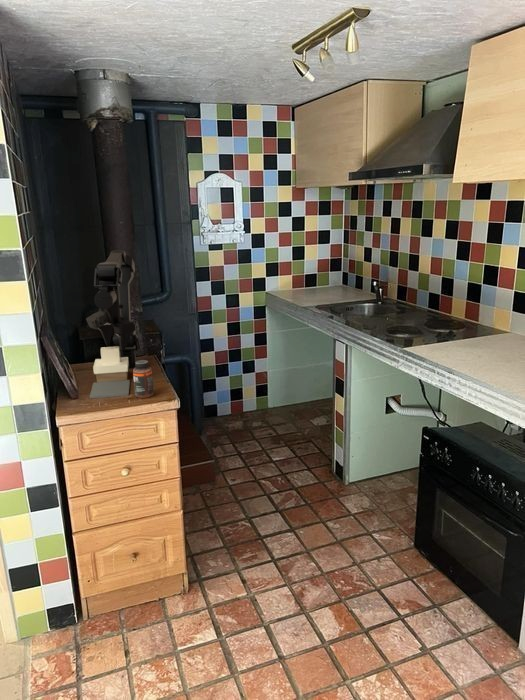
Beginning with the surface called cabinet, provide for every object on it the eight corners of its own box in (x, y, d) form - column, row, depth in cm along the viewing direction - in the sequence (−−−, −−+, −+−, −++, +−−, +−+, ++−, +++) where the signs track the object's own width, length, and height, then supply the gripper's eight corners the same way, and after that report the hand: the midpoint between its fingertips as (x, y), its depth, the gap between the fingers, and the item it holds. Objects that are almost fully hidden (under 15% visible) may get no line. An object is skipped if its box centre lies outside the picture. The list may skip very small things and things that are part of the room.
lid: (96, 365, 192) (94, 345, 190) (128, 363, 194) (127, 343, 192) (94, 373, 184) (91, 352, 181) (127, 371, 186) (126, 350, 184)
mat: (93, 384, 184) (93, 382, 184) (129, 381, 186) (129, 379, 186) (89, 398, 171) (89, 396, 171) (128, 395, 173) (128, 393, 173)
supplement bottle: (155, 391, 176) (152, 358, 173) (152, 398, 170) (149, 364, 167) (136, 392, 176) (134, 359, 173) (133, 399, 170) (130, 364, 167)
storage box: (98, 375, 193) (97, 362, 191) (127, 373, 195) (126, 360, 193) (96, 382, 185) (95, 369, 184) (126, 380, 187) (125, 366, 186)
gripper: (73, 302, 177) (79, 347, 182) (103, 311, 165) (108, 359, 170) (104, 296, 185) (108, 340, 190) (135, 305, 173) (139, 351, 177)
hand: (115, 347), depth 181 cm, fingers open, 9 cm apart
